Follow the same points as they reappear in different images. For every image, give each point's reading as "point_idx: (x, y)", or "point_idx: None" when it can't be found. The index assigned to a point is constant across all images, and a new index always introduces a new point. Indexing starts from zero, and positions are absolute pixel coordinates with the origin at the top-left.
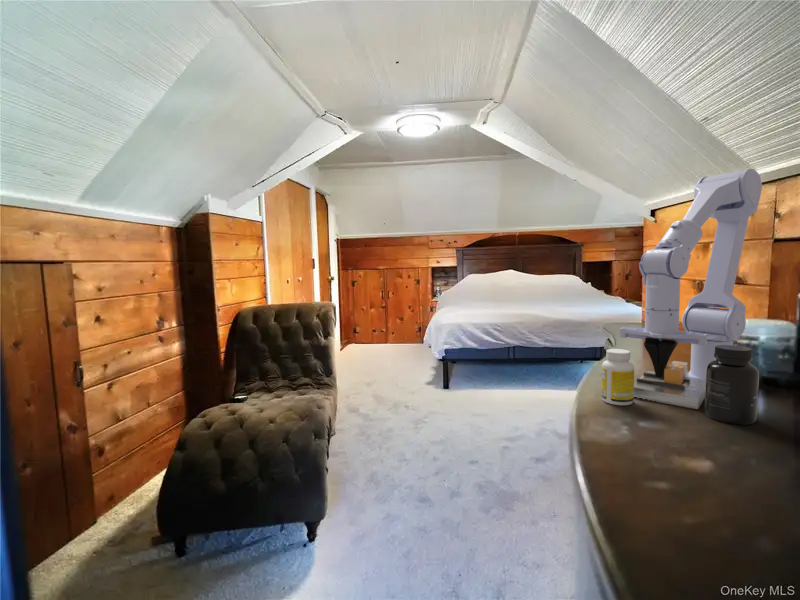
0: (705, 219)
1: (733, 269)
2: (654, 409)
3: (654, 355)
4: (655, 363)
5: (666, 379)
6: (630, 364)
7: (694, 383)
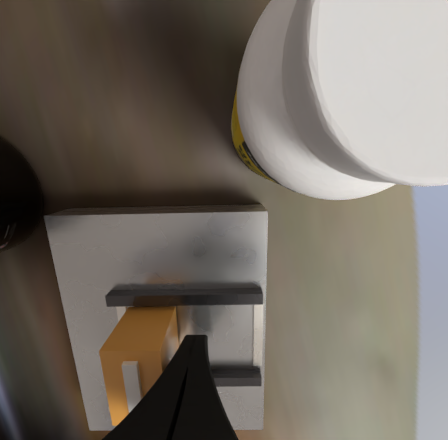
0: None
1: None
2: (163, 124)
3: (196, 415)
4: (198, 375)
5: (163, 318)
6: (262, 74)
7: None
